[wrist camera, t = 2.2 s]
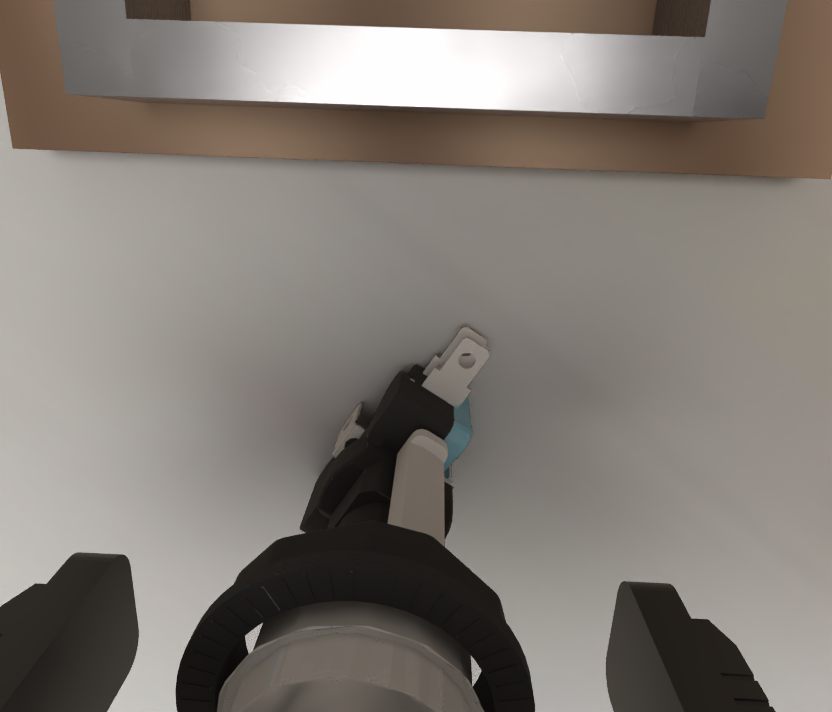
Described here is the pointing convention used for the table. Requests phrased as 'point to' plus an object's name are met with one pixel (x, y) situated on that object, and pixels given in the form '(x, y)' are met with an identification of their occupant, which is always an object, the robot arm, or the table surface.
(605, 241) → the table surface
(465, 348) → the push button
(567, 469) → the table surface
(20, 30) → the mounting board
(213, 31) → the socket
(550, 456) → the table surface
